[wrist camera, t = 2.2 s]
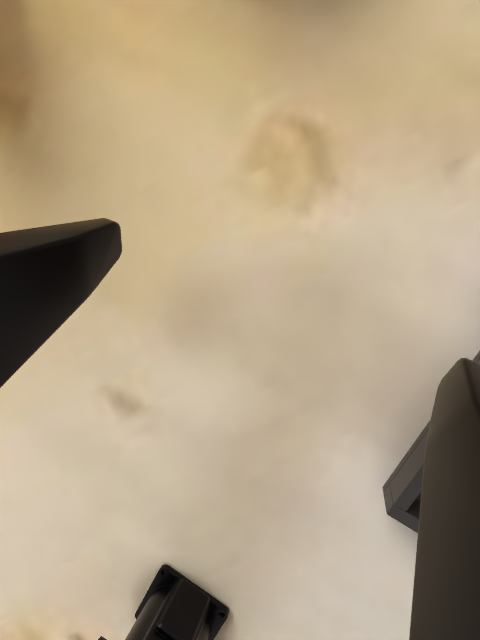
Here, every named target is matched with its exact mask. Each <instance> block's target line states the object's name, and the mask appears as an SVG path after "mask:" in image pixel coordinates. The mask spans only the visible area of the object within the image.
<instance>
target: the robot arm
mask: <svg viewBox="0 0 480 640" xmlns="http://www.w3.org/2000/svg"><path fill="white" fill-rule="evenodd" d="M121 252H122V243H121V229H120V226H119V224H118V223H117V222H114V221H112V220H109V219H106V218H101V219H94V220H87V221H80V222H73V223H66V224H59V225H52V226H45V227H38V228H32V229H25V230H18V231H11V232H4V233H0V388H1V387H2V386H3V385H4V384H5V383H6V381H7V380H8V379H9V378H10V377H11V376H12V375H13V374H14V373H15V372H16V371H17V370H18V369H19V368H20V367H21V366H22V365H23V364H24V363H25V362H26V361H27V360H28V359H29V358H30V357H31V356H32V355H33V354H34V353H35V352H36V351H37V350H38V349H39V348H40V347H41V346H42V345H43V343H44V342H45V341H46V340H47V339H48V338H49V337H50V336H51V335H52V334H53V333H54V332H55V331H56V330H57V329H58V328H59V327H60V326H61V325H62V324H63V323H64V322H65V321H66V320H67V319H68V318H69V317H70V316H71V315H72V314H73V313H74V312H75V311H76V310H77V309H78V308H79V307H80V305H81V304H82V303H83V302H84V301H85V300H86V299H87V298H88V297H89V296H90V295H91V293H92V292H93V291H94V290H95V289H96V287H97V286H98V285H99V283H100V282H101V281H102V280H103V278H104V277H105V276H106V274H107V273H108V272H109V270H110V269H111V268H112V267H113V265H114V264H115V263H116V261H117V260H118V259H119V257H120V255H121ZM228 614H229V609H228V608H227V607H226V606H225V605H224V604H222V603H221V602H219V601H218V600H217V599H215V598H214V597H212V596H211V595H209V594H208V593H207V592H205V591H204V590H202V589H201V588H200V587H198V586H197V585H195V584H194V583H192V582H191V581H190V580H188V579H187V578H185V577H184V576H182V575H181V574H180V573H178V572H177V571H175V570H174V569H173V568H171V567H170V566H168V565H165V564H164V565H162V566H161V568H160V569H159V571H158V573H157V575H156V577H155V578H154V580H153V582H152V584H151V586H150V588H149V590H148V591H147V593H146V595H145V597H144V599H143V601H142V603H141V604H140V606H139V608H138V610H137V612H136V614H135V618H136V622H135V624H134V625H133V627H132V629H131V631H130V632H129V634H128V636H127V638H126V639H125V640H213V639H214V638H215V636H216V635H217V633H218V631H219V630H220V628H221V627H222V625H223V624H224V622H225V621H226V619H227V617H228ZM98 640H107V639H105V638H104V637H102V636H101V637H100V638H99V639H98ZM409 640H480V363H477V362H475V361H472V360H469V359H467V358H461V359H460V360H458V361H457V362H456V363H455V365H454V366H453V367H452V368H451V369H450V370H449V372H448V373H447V374H446V375H445V376H444V378H443V379H442V380H441V382H440V384H439V386H438V390H437V394H436V399H435V403H434V408H433V412H432V417H431V421H430V426H429V430H428V435H427V440H426V446H425V454H424V467H423V479H422V491H421V503H420V516H419V528H418V540H417V552H416V564H415V577H414V589H413V601H412V613H411V626H410V638H409Z"/></svg>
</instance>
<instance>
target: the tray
mask: <svg viewBox="0 0 480 640" xmlns="http://www.w3.org/2000/svg"><path fill="white" fill-rule="evenodd" d="M473 361H475V362H477V363H480V352H479V353H478V354H477V356H476V357H475V359H474V360H473ZM430 421H431V420H430ZM429 426H430V422H429V423H428V424H427V426H426V427H425V429H424V430H423V431H422V433H421V434H420V436H419V437H418V438H417V440H416V441H415V443H414V444H413V445H412V447H411V448H410V450H409V451H408V452H407V454H406V455H405V457H404V458H403V459H402V461H401V462H400V464H399V465H398V466H397V468H396V469H395V471H394V472H393V473H392V475H391V476H390V478H389V479H388V480H387V482H386V483H385V485H384V486H383V492H384V499H385V505H386V512H387V514H388V515H389V516H391V517H392V518H394V519H396V520H397V521H399V522H401V523H402V524H404V525H406V526H407V527H409V528H411V529H412V530H414V531H416V532H417V533H418V528H419V516H420V503H421V491H422V479H423V467H424V454H425V446H426V440H427V435H428V430H429Z"/></svg>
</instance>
